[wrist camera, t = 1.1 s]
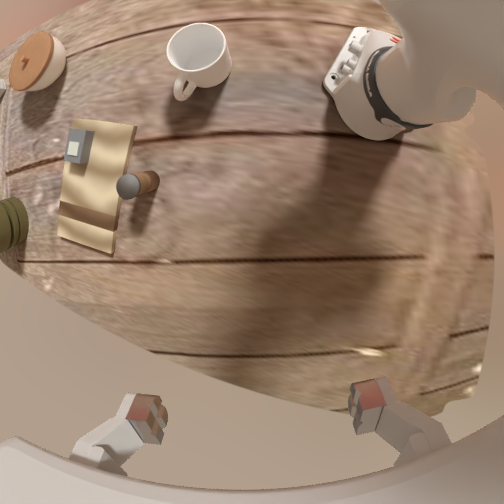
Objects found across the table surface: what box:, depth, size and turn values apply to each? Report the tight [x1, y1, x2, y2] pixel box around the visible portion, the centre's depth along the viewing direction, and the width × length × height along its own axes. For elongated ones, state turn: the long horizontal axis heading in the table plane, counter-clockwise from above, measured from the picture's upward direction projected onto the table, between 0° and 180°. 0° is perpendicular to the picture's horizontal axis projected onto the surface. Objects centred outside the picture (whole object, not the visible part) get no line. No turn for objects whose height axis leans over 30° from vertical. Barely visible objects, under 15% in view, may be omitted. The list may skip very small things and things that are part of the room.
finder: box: [64, 128, 95, 164], centre depth 40 cm, size 6×4×3 cm, turn 164°
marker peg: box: [116, 171, 160, 200], centre depth 41 cm, size 4×4×10 cm
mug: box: [167, 23, 232, 101], centre depth 35 cm, size 12×8×10 cm
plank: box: [58, 118, 137, 254], centre depth 45 cm, size 24×14×2 cm, turn 164°
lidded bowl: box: [9, 32, 66, 91], centre depth 32 cm, size 13×13×11 cm
